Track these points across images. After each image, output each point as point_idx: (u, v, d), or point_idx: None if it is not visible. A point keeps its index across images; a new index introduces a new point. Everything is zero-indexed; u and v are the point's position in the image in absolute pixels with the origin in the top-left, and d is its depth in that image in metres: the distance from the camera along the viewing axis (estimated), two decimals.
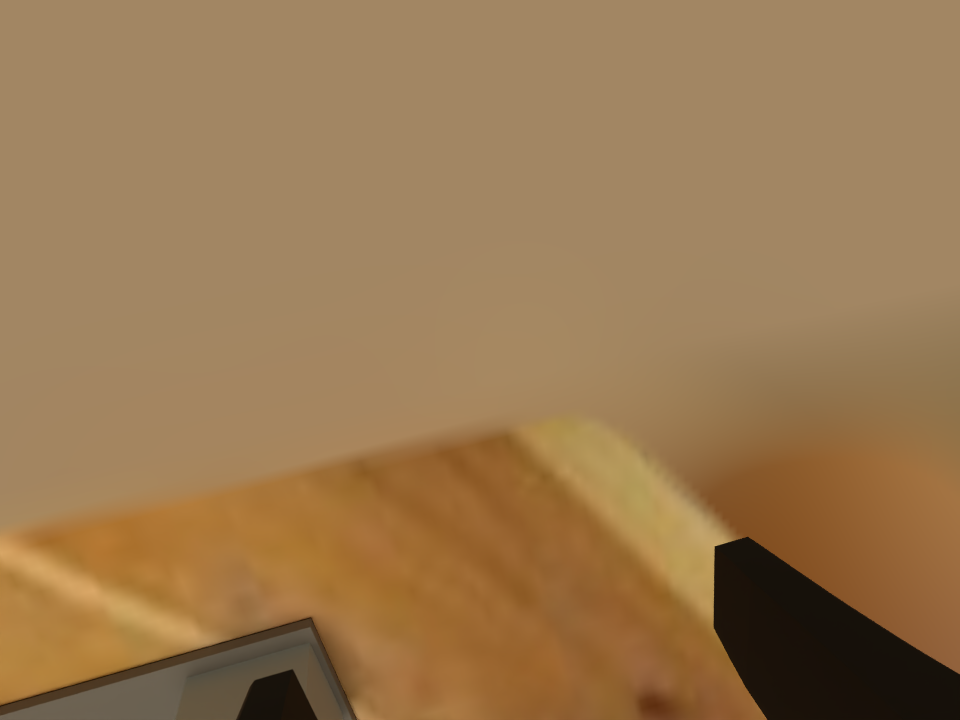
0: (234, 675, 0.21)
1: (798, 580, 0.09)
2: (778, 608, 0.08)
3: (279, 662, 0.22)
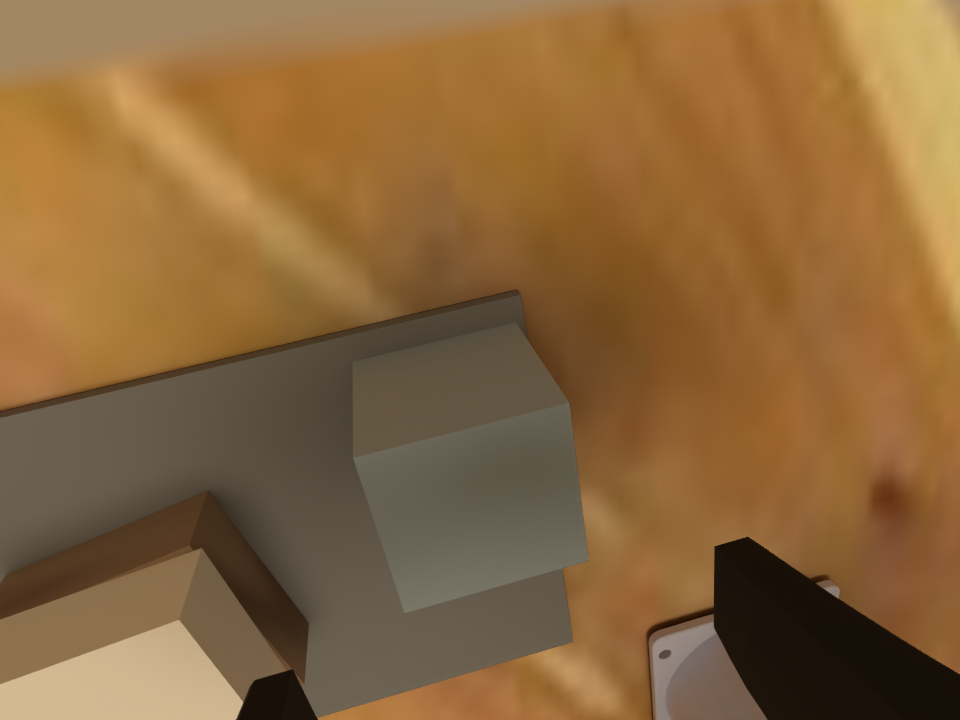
0: (421, 353, 0.16)
1: (798, 580, 0.09)
2: (778, 608, 0.08)
3: (481, 338, 0.16)
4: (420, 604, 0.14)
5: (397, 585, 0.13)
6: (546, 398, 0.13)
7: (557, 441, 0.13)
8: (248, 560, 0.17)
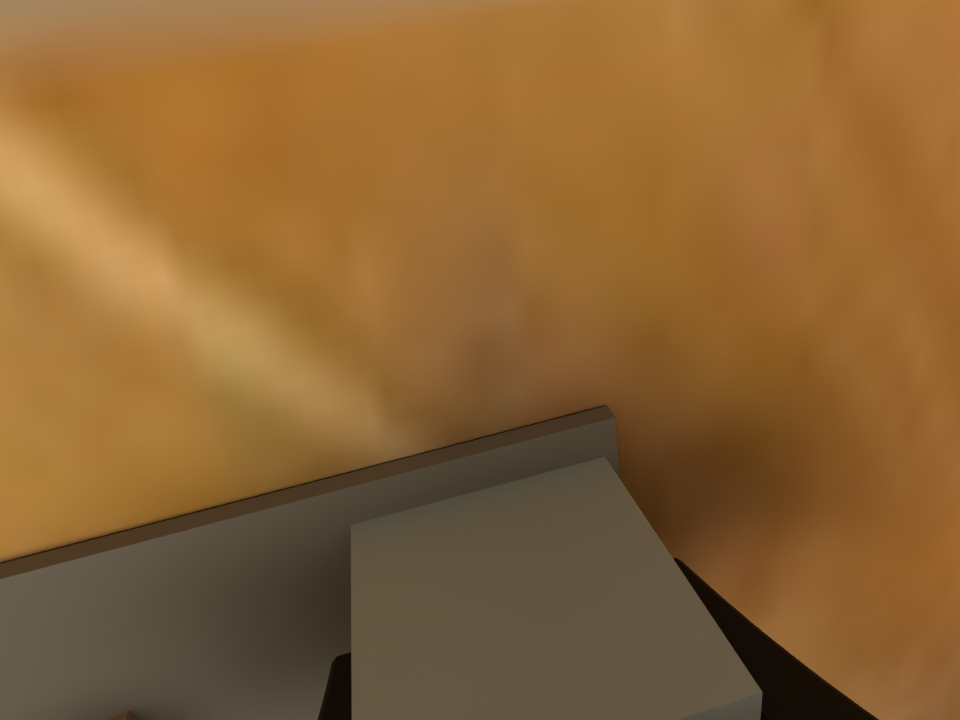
0: (460, 515, 0.10)
1: (716, 605, 0.09)
2: None
3: (555, 489, 0.10)
4: None
5: None
6: (711, 672, 0.07)
7: None
8: None
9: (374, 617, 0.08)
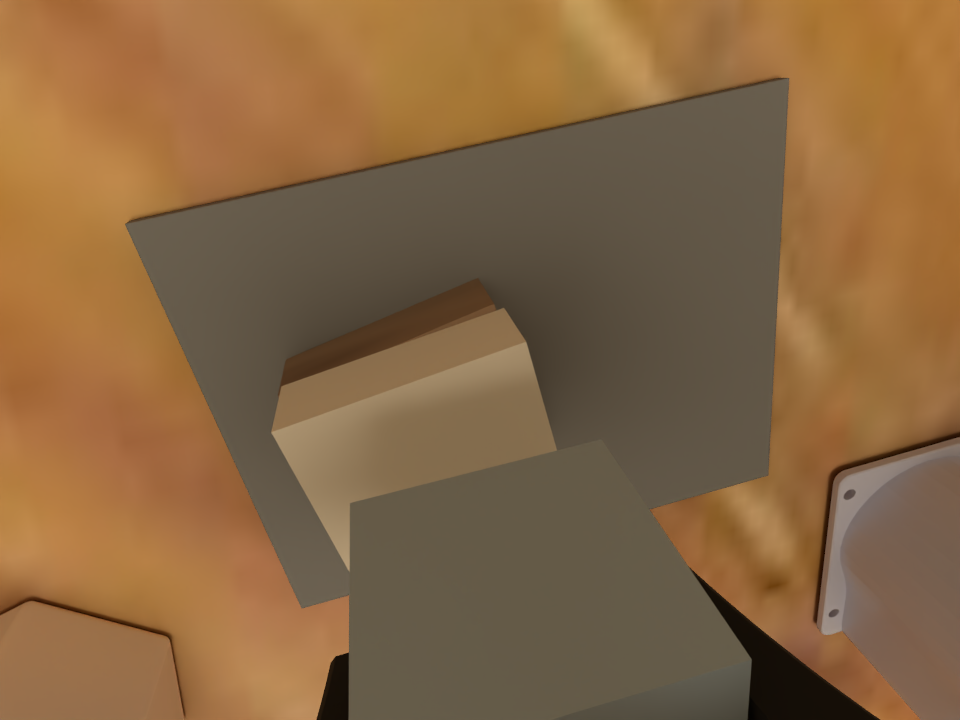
0: (458, 494, 0.10)
1: (717, 605, 0.09)
2: None
3: (552, 470, 0.10)
4: None
5: None
6: (702, 641, 0.07)
7: (719, 716, 0.07)
8: None
9: (372, 589, 0.08)
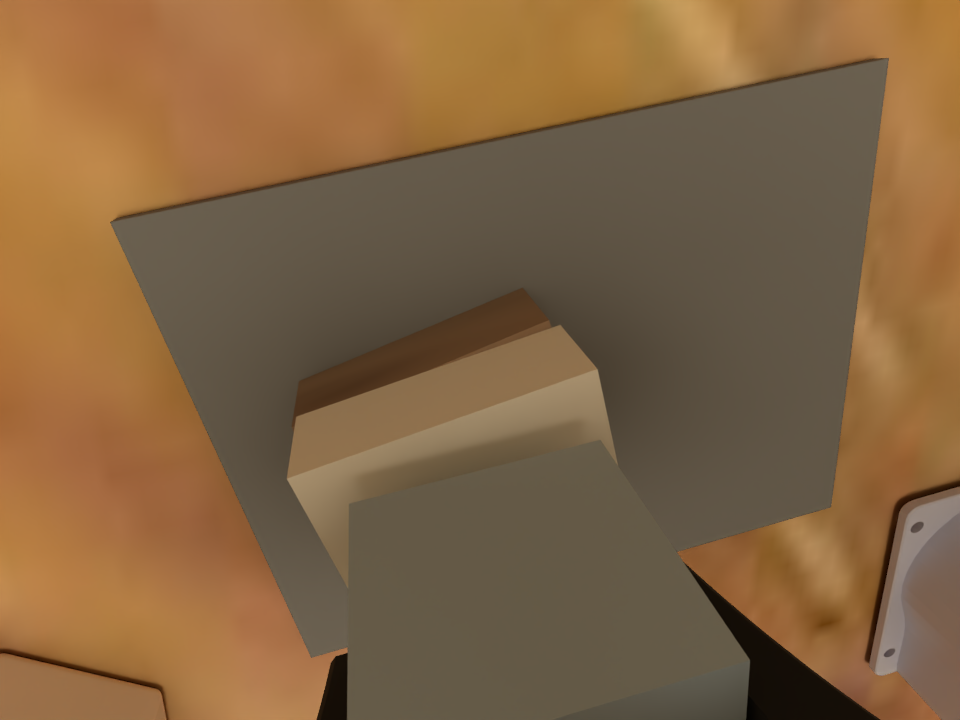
0: (457, 495, 0.10)
1: (717, 605, 0.09)
2: None
3: (550, 471, 0.10)
4: None
5: None
6: (700, 641, 0.07)
7: (718, 717, 0.07)
8: None
9: (370, 590, 0.08)
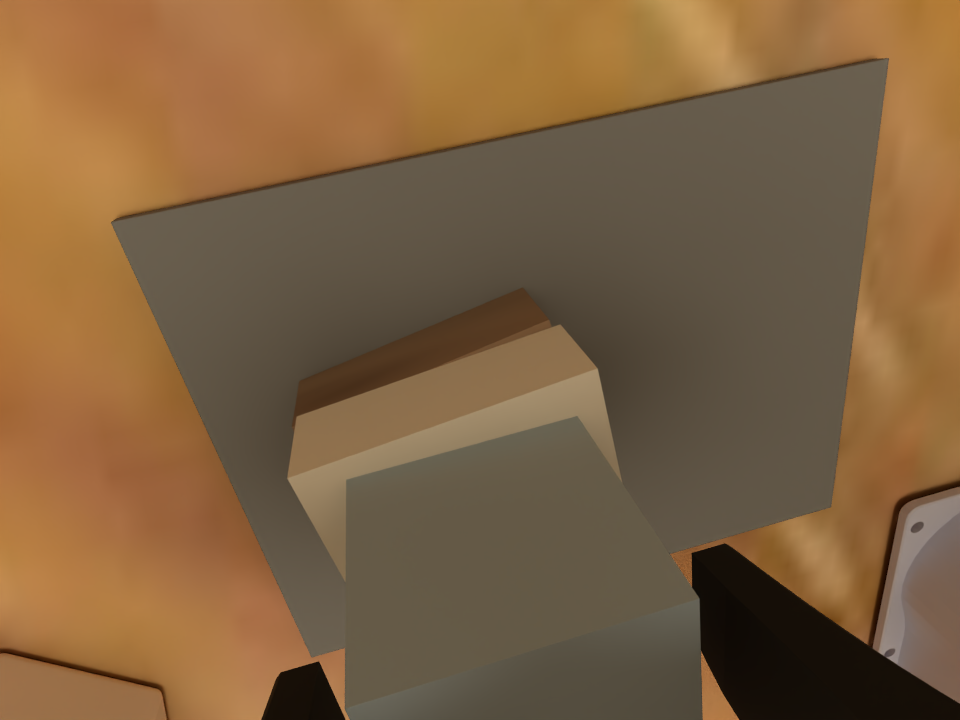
0: (445, 468, 0.11)
1: (773, 588, 0.09)
2: (752, 616, 0.08)
3: (531, 444, 0.11)
4: None
5: None
6: (657, 585, 0.08)
7: (675, 652, 0.08)
8: None
9: (366, 553, 0.09)
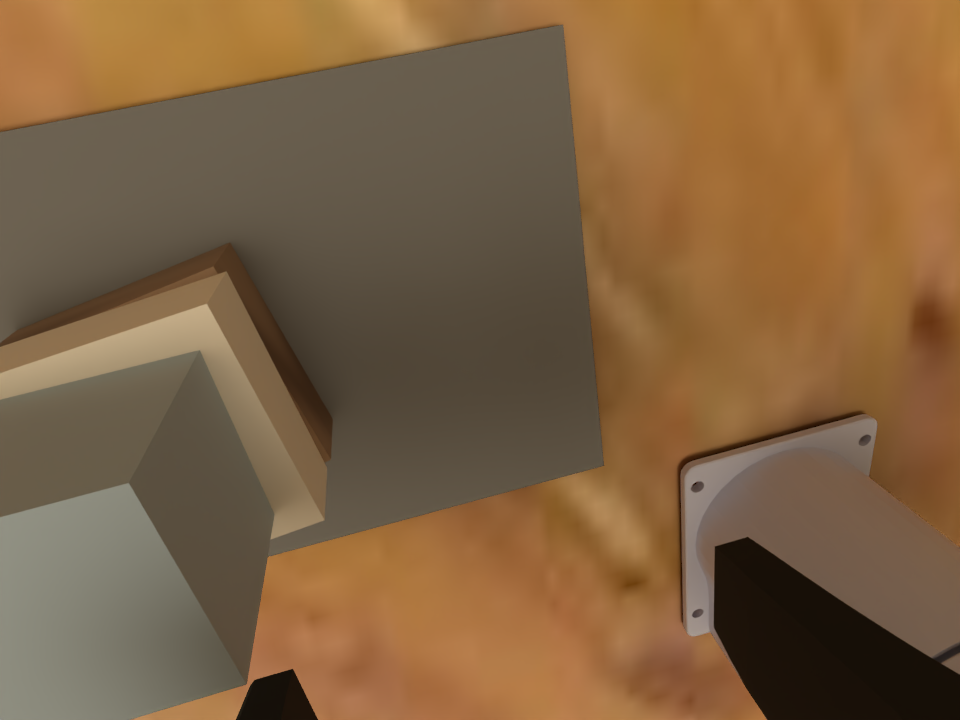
0: (54, 395, 0.12)
1: (798, 580, 0.09)
2: (778, 608, 0.08)
3: (139, 374, 0.12)
4: None
5: None
6: (110, 474, 0.09)
7: (131, 536, 0.09)
8: (272, 325, 0.16)
9: None
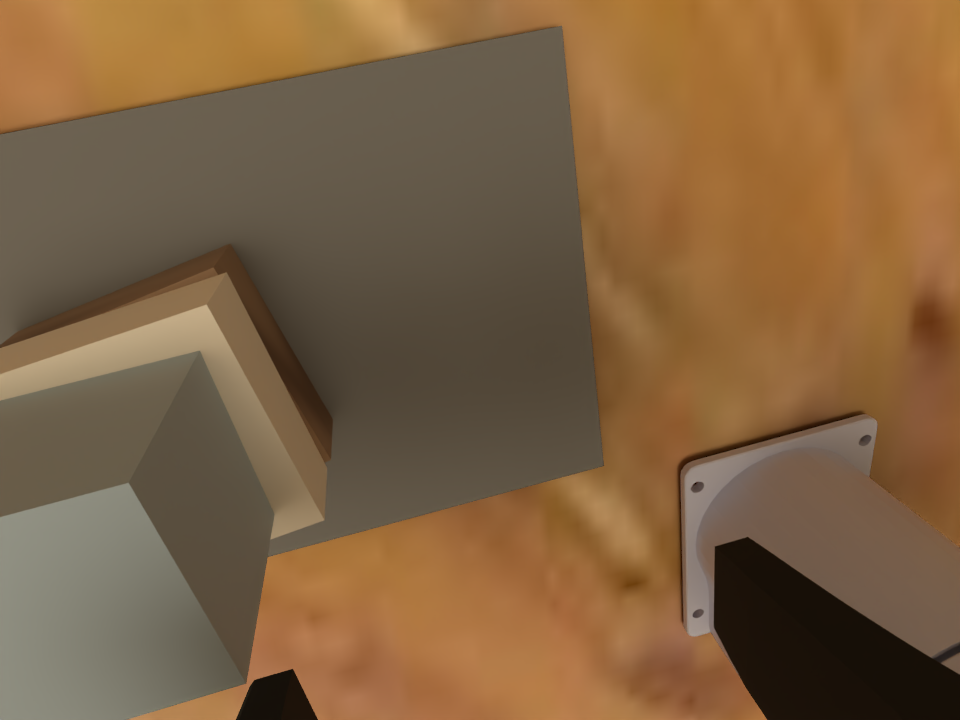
0: (55, 395, 0.12)
1: (798, 580, 0.09)
2: (778, 608, 0.08)
3: (139, 374, 0.12)
4: None
5: None
6: (110, 474, 0.09)
7: (131, 536, 0.09)
8: (272, 326, 0.16)
9: None
